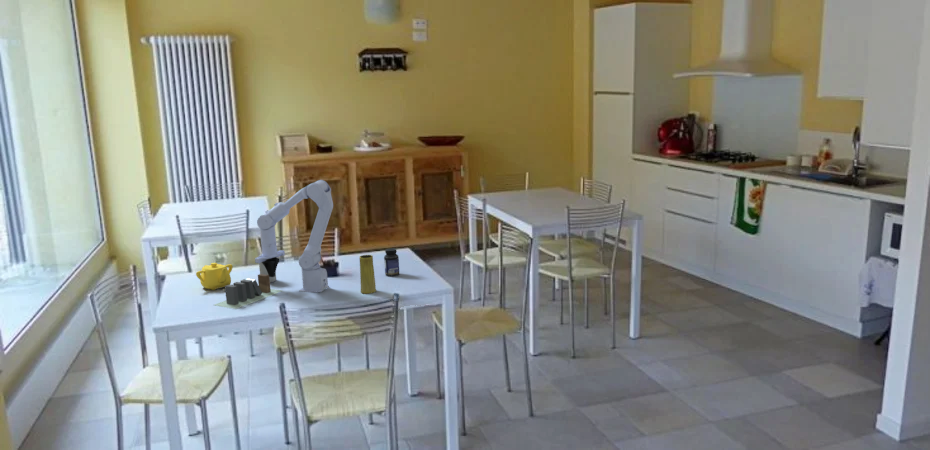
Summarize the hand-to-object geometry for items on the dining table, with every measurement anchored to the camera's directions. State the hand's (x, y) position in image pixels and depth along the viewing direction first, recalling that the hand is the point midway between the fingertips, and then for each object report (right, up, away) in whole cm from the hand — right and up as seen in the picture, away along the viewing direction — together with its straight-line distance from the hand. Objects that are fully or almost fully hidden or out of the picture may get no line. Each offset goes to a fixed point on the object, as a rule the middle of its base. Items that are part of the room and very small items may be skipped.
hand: (271, 276), depth 286 cm
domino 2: (-8, -8, -14) cm, 18 cm away
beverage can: (-5, -3, +13) cm, 14 cm away
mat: (-6, -8, -10) cm, 14 cm away
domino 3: (-6, -7, -10) cm, 14 cm away
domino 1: (-10, -9, -17) cm, 22 cm away
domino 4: (-4, -6, -7) cm, 10 cm away
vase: (+40, -6, -7) cm, 41 cm away
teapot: (-25, -5, +7) cm, 26 cm away
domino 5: (-2, -6, -3) cm, 7 cm away
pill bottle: (+47, -1, +17) cm, 50 cm away
